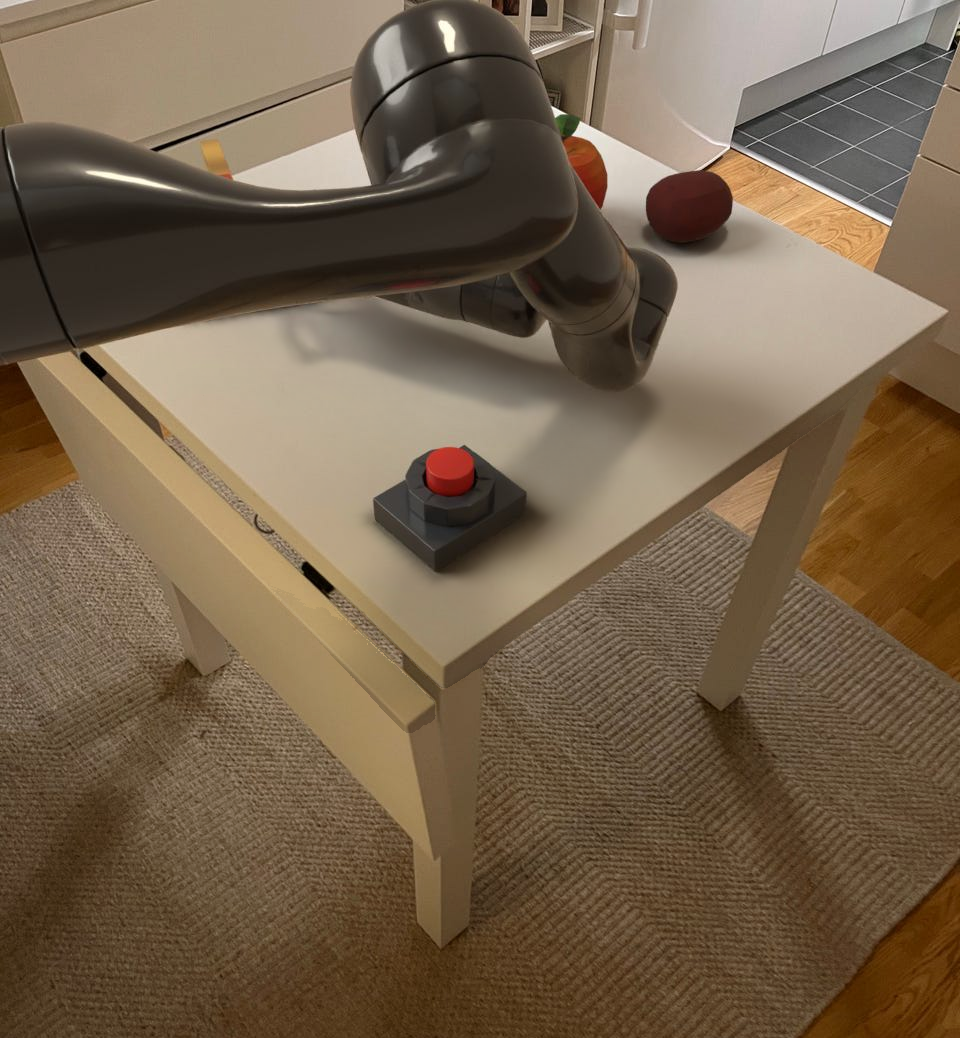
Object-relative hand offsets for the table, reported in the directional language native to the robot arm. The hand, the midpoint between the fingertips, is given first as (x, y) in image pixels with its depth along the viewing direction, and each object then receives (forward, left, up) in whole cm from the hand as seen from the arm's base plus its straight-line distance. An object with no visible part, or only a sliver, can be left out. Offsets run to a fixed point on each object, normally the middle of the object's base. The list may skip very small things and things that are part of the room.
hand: (250, 209), depth 85 cm
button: (+16, -29, -5) cm, 34 cm away
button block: (+15, -29, -8) cm, 34 cm away
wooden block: (-3, +5, -6) cm, 8 cm away
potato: (+41, +9, -8) cm, 43 cm away
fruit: (+28, +11, -8) cm, 31 cm away
